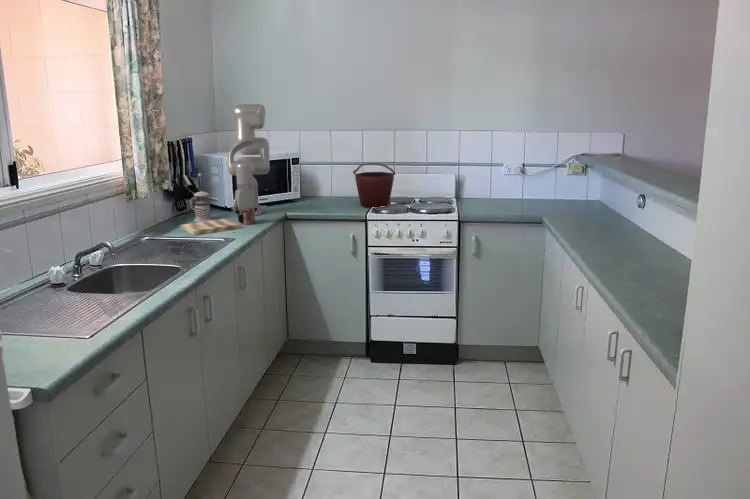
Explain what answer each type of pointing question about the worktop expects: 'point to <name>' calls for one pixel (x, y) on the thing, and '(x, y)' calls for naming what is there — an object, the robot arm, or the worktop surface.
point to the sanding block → (248, 217)
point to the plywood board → (210, 226)
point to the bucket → (374, 187)
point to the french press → (202, 207)
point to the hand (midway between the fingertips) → (246, 221)
